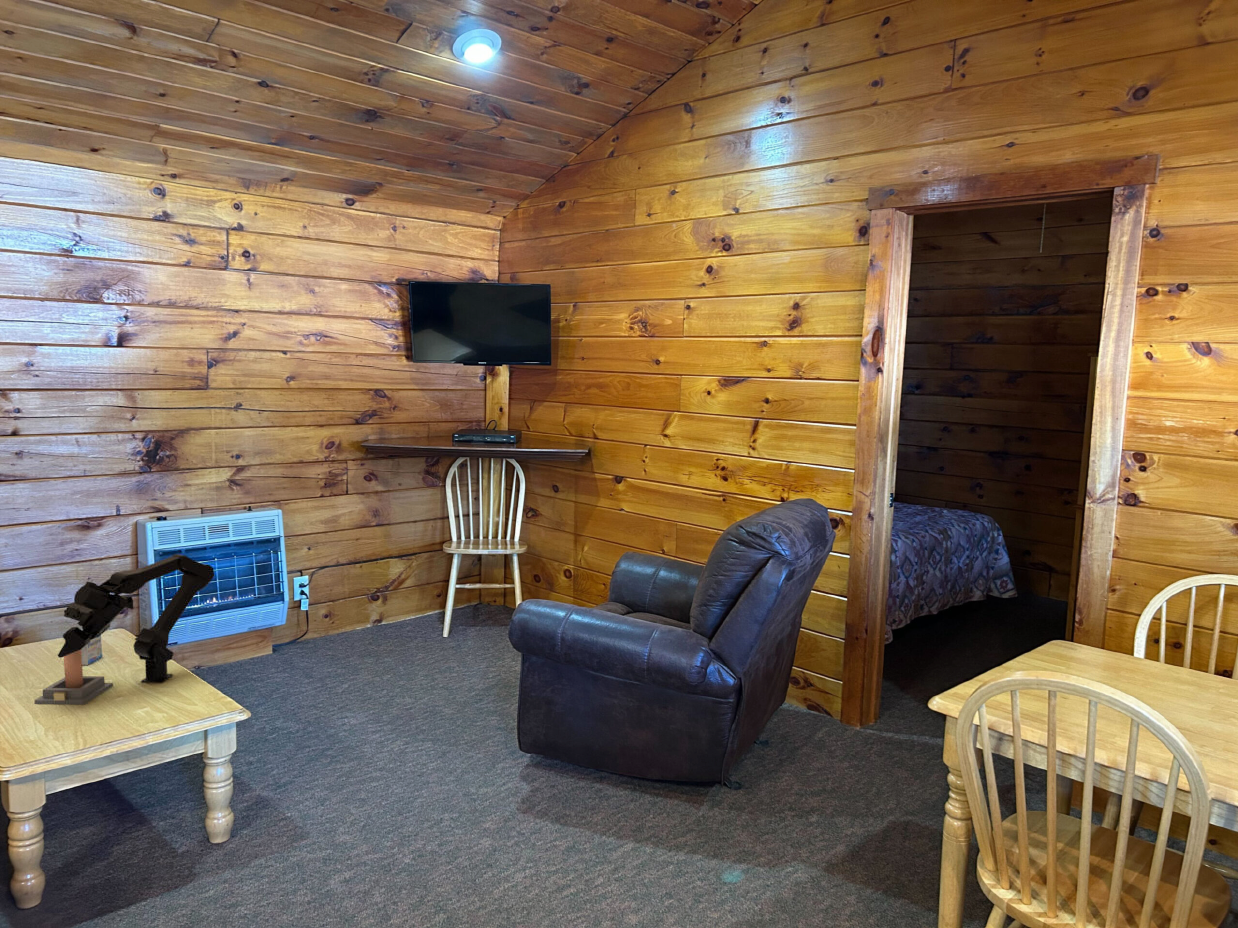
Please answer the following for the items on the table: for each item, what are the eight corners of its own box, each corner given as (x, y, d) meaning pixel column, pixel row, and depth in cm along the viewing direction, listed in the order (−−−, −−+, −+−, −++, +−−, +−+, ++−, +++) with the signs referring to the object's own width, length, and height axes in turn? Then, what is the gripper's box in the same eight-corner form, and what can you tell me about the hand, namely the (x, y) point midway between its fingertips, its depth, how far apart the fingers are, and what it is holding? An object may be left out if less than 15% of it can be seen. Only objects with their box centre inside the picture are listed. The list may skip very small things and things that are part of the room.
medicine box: (87, 665, 280) (86, 639, 279) (74, 665, 280) (72, 638, 279) (102, 657, 288) (101, 631, 287) (89, 657, 288) (87, 631, 287)
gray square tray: (65, 685, 263) (65, 674, 263) (112, 685, 263) (112, 674, 263) (34, 703, 249) (33, 691, 249) (84, 704, 249) (83, 692, 249)
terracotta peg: (72, 688, 258) (69, 648, 257) (87, 688, 258) (84, 648, 257) (62, 693, 254) (59, 653, 253) (77, 694, 254) (75, 653, 252)
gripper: (96, 585, 262) (58, 623, 262) (68, 602, 244) (27, 643, 244) (126, 610, 265) (88, 648, 264) (101, 629, 246) (60, 669, 246)
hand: (66, 651), depth 254 cm, fingers open, 9 cm apart
